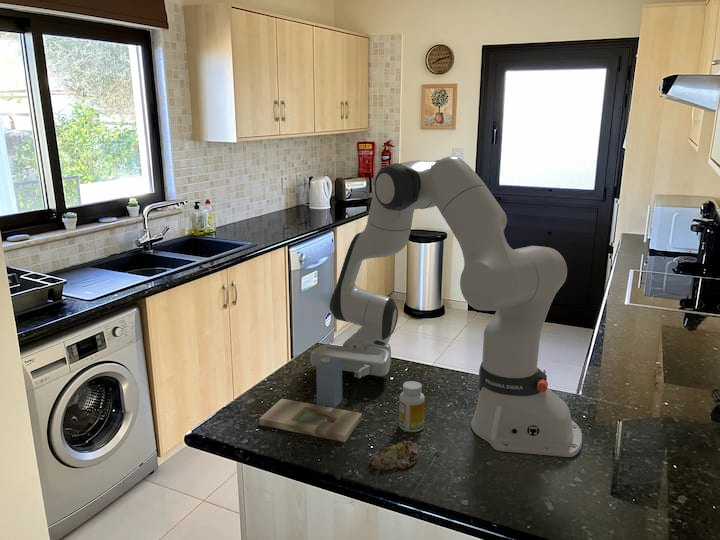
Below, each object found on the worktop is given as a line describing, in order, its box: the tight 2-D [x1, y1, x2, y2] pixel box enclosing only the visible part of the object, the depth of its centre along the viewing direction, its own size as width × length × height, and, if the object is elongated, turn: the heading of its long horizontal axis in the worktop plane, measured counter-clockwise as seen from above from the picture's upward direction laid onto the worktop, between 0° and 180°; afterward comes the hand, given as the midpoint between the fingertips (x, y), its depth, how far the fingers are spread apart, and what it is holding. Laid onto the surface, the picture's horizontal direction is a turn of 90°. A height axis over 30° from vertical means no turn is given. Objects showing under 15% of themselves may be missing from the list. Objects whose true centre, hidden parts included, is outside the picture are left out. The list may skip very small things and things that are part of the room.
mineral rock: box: [369, 440, 420, 471], centre depth 113 cm, size 11×4×8 cm
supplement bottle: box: [398, 380, 426, 433], centre depth 124 cm, size 5×5×10 cm
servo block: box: [315, 357, 343, 408], centre depth 135 cm, size 4×4×11 cm
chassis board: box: [258, 398, 363, 443], centre depth 127 cm, size 20×10×2 cm, turn 69°
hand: (338, 372), depth 139 cm, fingers open, 8 cm apart
